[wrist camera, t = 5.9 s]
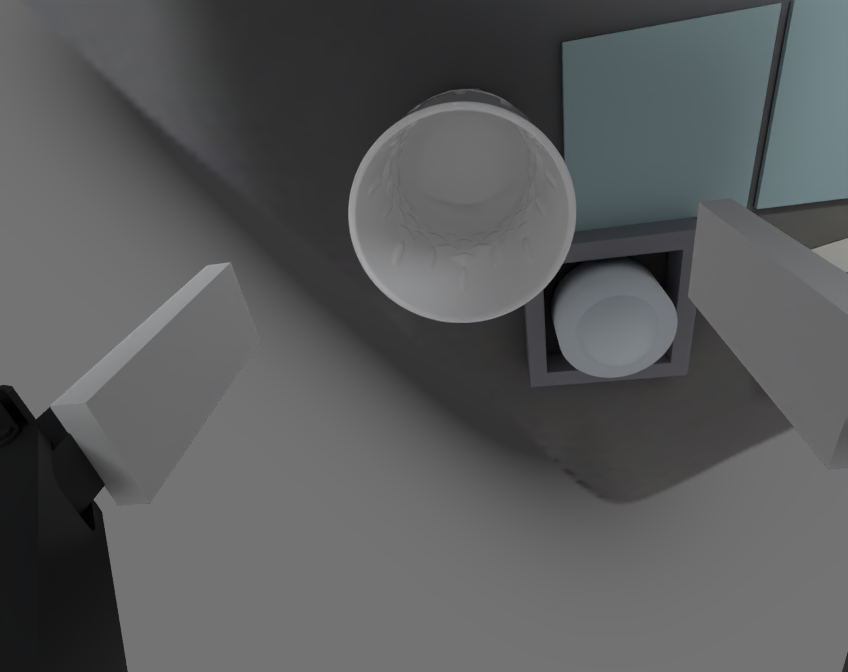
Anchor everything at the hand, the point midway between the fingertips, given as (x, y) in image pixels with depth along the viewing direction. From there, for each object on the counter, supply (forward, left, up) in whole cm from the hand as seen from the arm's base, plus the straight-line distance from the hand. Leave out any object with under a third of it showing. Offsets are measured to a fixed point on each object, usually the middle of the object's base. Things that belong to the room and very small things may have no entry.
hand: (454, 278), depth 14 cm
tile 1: (0, +10, -14) cm, 17 cm away
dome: (+9, +7, -13) cm, 17 cm away
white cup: (0, 0, -14) cm, 14 cm away
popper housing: (+9, +7, -14) cm, 18 cm away
